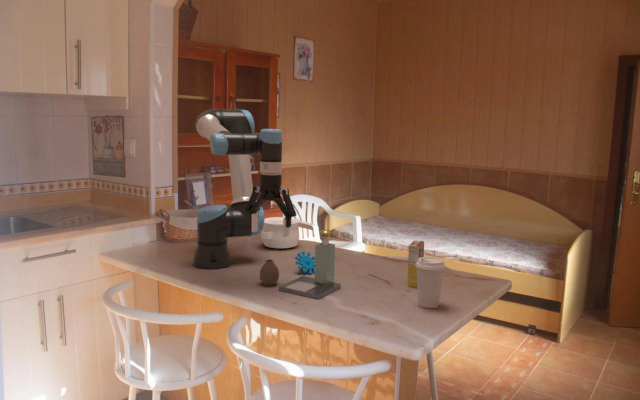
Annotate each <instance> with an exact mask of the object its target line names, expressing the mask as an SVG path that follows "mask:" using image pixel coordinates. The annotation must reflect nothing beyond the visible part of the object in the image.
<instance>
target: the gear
mask: <svg viewBox="0 0 640 400" xmlns="http://www.w3.org/2000/svg"><path fill="white" fill-rule="evenodd" d="M310 256H311V257H310ZM294 259H295V260H296V261H295V265H299V266H298V267H297V268H298V270H300V271H302V273H304V274H306V273H307V272H308V273H307V274H308V275H313V274H315V255H313V256H312V254H311V253H310V252H307V253H306V251H304V250H303V251H301V252H298V253H297V254H296V256H295V257H294Z"/></svg>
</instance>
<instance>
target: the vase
mask: <svg viewBox="0 0 640 400" xmlns="http://www.w3.org/2000/svg"><path fill="white" fill-rule="evenodd" d="M279 278H280V270H279V267H278V266H277V265H276V263H275V261H274V259H266V260H265V262H264V263H263V265H262V267H261V268H260V271H259V279H260V282H261V284H263V285H264V286H267V287H270V286H275V285H276V284H278V283H277V282H279Z"/></svg>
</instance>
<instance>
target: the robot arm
mask: <svg viewBox="0 0 640 400" xmlns="http://www.w3.org/2000/svg"><path fill="white" fill-rule="evenodd" d="M194 127H195V130H196V132H197V133H198V135H199V136H201V137H202V138H204V139H207V140H208V141H209V148H210V151H211V152H210V153H211V154H212V155H216V156H217V155H218V156H227V155H228V163H229V165H228V166H229V174H230V183H231V193H232V194H231V195H232V201H231V203H230V204H229V208H228V206H227V205H226V204H213V205H212V204H211V205H207V206H204V207H202V208H199V210H198V211H197V215H196V216H197V217H196V223H197V225H196V226H197V228H196V229H197V233H196V235H197V237H196V238H197V239H196V240H197V244H196V249H195V252H194V256H193V259H192V265H193V266H194V267H196V268H199V269H204V270H205V269H207V270H208V269H209V270H216V269H222V268H226V267H229V266H231V265H232V263H233V261H232V259H233V258H232V255H231V253H230V250H229V247H228V238H241V237H253V236H259V235H261V232H262V230H263V227H264V220H265V218H266V217H265V209H264V207H262V205H263V204H264V202H265V201H270V202H274V203H276V205H277V206H278V208H279V210H280V211H281V213H282V215H283V217H285V218H283V237H287V236H289V227H291V218H295V217H297V212H296V209H295V207H294V203H293V201H292V198H291V196H290V190H289V188H284V189H282V178H283V176H282V173H283V167H282V165H283V161H282V158H283V132H282V130H281V129H279V128H277V129H276V128H262V129H260V132H256V130H255V127H256V126H255V120H254V117H253V115H252V113H251V112H250V111H249V110H246V109H238V108H237V109H231V108H230V109H225V108H224V109H223V108H211V109H207V110H205V111H203V112H201V113H200V114H199V115H198V116H197V118H196V119H195V123H194ZM255 132H256V133H255ZM250 155H252V156H253V155H254V156H255V155H259V172H260V175H259V185H255V186H254V185H253V178H252V167H251V159H250ZM259 194H260V195H259ZM258 196H259V197H258Z"/></svg>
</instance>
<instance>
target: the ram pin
mask: <svg viewBox="0 0 640 400" xmlns="http://www.w3.org/2000/svg"><path fill="white" fill-rule="evenodd" d="M319 233H320V235H321V243H322V245H324V246H328V245H329V243H330V241H329V240H330V235H331V234H332V230H330V229H321V230H320V231H319Z"/></svg>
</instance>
